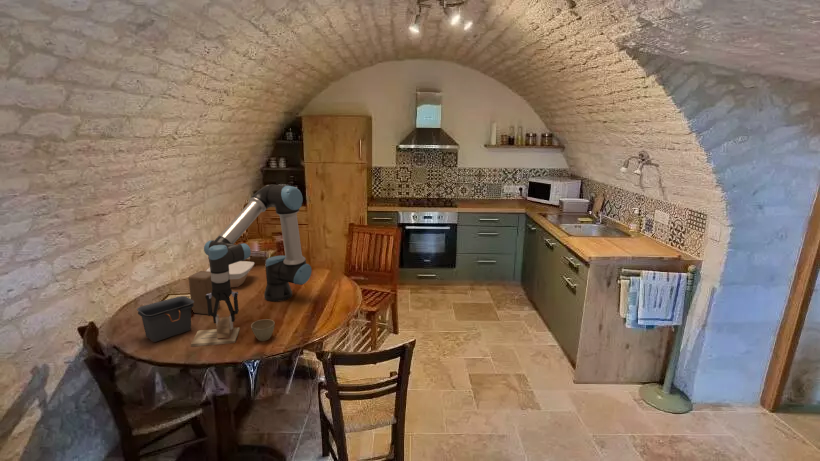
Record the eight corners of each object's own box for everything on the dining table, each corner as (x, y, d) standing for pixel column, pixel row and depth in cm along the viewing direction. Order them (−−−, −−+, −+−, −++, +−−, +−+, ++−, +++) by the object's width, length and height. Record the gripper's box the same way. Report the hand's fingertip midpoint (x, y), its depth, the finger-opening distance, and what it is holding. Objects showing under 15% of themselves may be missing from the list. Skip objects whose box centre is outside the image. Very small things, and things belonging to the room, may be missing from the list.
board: (239, 329, 204) (239, 327, 203) (235, 342, 191) (234, 340, 191) (198, 332, 200) (198, 330, 199) (191, 346, 187) (190, 344, 187)
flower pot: (255, 333, 200) (254, 319, 198) (277, 333, 201) (276, 318, 199) (249, 344, 190) (248, 329, 189) (272, 343, 191) (271, 328, 190)
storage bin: (186, 321, 211) (183, 294, 207) (201, 331, 202) (199, 302, 198) (138, 337, 194) (134, 308, 191) (153, 348, 185) (148, 317, 182)
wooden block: (208, 315, 218) (205, 278, 213) (191, 313, 220) (187, 276, 215) (221, 307, 228) (217, 271, 223) (204, 305, 230) (200, 270, 225)
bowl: (244, 291, 250) (243, 274, 248) (202, 290, 251) (200, 273, 248) (258, 277, 274) (257, 261, 271) (220, 276, 274) (218, 260, 271)
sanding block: (233, 329, 201) (232, 316, 199) (229, 338, 192) (228, 325, 191) (221, 330, 200) (220, 317, 198) (217, 339, 191) (216, 326, 190)
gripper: (243, 276, 195) (247, 323, 201) (200, 278, 192) (205, 326, 197) (240, 282, 188) (244, 330, 194) (196, 284, 185) (201, 334, 190)
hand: (225, 328), depth 195 cm, fingers closed on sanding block, 5 cm apart
